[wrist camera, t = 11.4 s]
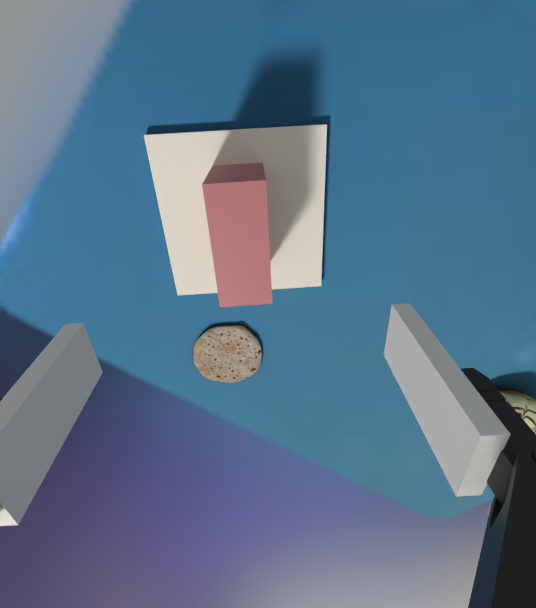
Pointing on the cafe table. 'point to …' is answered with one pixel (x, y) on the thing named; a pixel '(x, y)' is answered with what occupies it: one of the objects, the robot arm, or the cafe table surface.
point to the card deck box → (239, 233)
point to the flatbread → (227, 353)
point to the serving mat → (280, 198)
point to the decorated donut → (522, 406)
